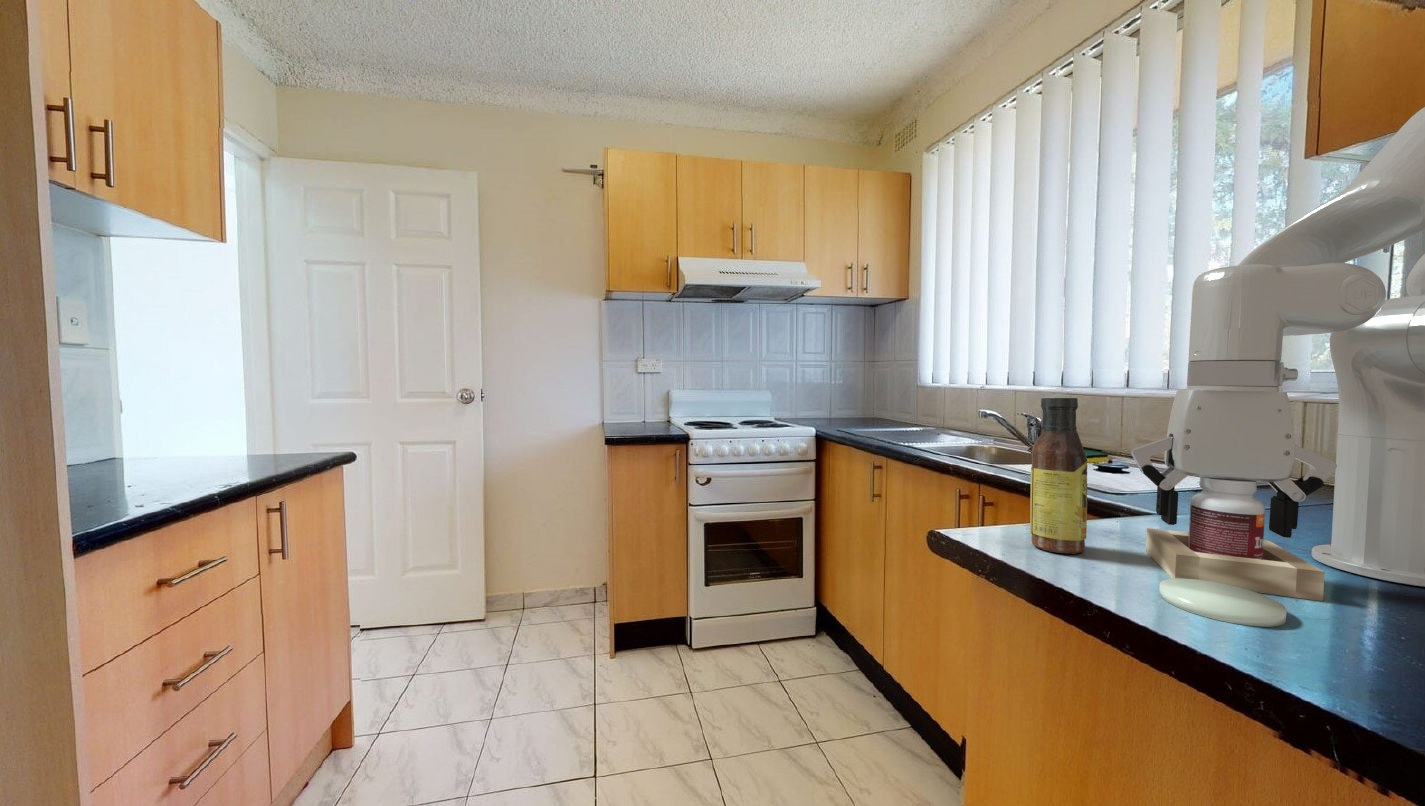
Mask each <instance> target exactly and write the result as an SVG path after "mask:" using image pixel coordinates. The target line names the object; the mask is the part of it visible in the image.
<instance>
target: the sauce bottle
mask: <svg viewBox="0 0 1425 806" xmlns="http://www.w3.org/2000/svg"><path fill="white" fill-rule="evenodd" d="M1040 407H1041V411H1042V416H1041V417H1042V423H1041V424H1042V425H1041V430H1042V431H1041V433H1040V435H1039V437H1038V438H1037V439H1036V440H1035V442H1034V443H1033V446H1032V449H1031V468H1030V498H1029V499H1030V507H1029V508H1030V512H1029V514H1030V515H1029V517H1030V518H1029V520H1030V522H1029V523H1030V524H1029V525H1030V527H1029V528H1030V529H1029V532H1030V534H1031V536H1030V539H1031V540H1030V541H1031V543H1032V545H1033V546H1034V547H1035V548H1038V549H1040V550H1042V551H1046V552H1050V553H1058V554H1072V555H1074V554H1080V553H1082V552H1083V551H1084V550H1085V548H1086V547H1085V546H1086V542H1085V540H1086V539H1087V526H1088V525H1087V522H1088V521H1087V517H1088V458H1087V454H1086V453H1085V449H1084V446H1083V443H1082V442H1081V439H1080V435H1079V432H1078V429H1077V428H1078V427H1077V410H1078V408H1079V403H1078V397H1076V396H1075V397H1074V396H1071V397H1067V396H1065V397H1062V396H1056V397H1055V396H1044V397H1041V399H1040Z"/></svg>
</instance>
